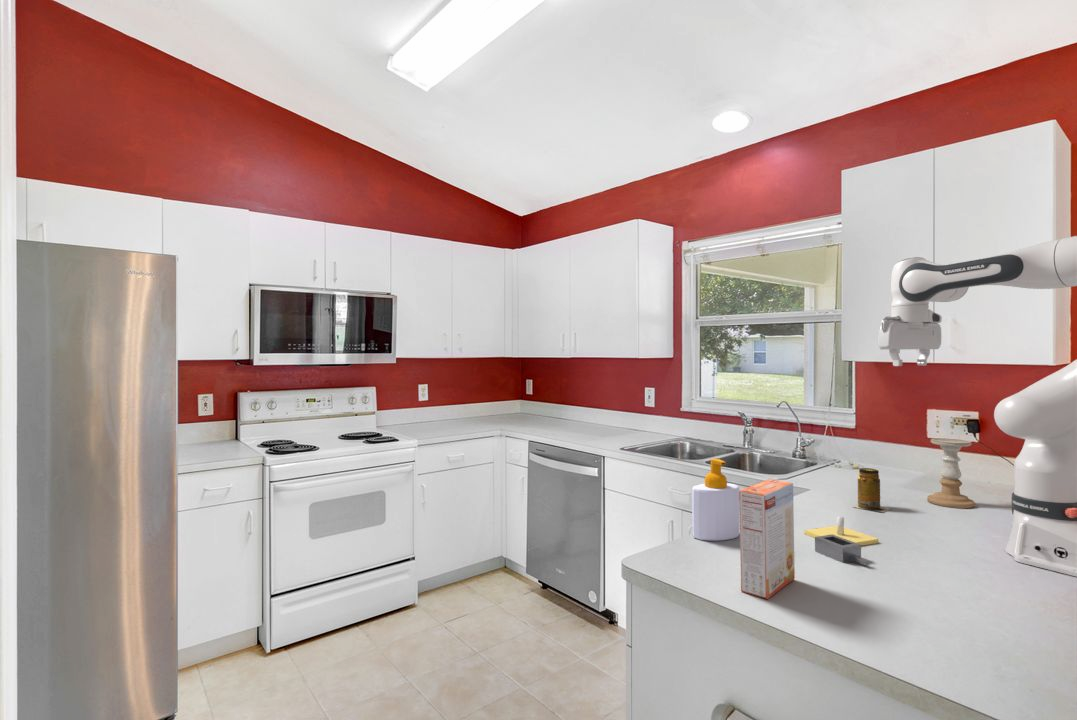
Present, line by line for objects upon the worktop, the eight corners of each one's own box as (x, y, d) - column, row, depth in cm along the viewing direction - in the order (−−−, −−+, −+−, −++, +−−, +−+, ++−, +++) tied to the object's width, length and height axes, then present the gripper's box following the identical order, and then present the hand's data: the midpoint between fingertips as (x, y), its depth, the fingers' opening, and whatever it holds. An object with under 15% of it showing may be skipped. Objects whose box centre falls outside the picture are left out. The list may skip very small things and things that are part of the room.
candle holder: (978, 510, 168) (978, 444, 168) (928, 505, 174) (928, 441, 174) (972, 501, 178) (972, 439, 178) (925, 496, 185) (925, 436, 185)
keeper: (878, 542, 140) (878, 521, 140) (842, 548, 136) (842, 526, 136) (838, 528, 151) (838, 508, 151) (804, 533, 147) (804, 513, 147)
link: (876, 565, 125) (876, 550, 125) (858, 569, 123) (858, 553, 123) (832, 548, 136) (832, 534, 136) (815, 551, 135) (814, 536, 134)
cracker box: (767, 572, 122) (767, 477, 122) (795, 580, 117) (795, 482, 117) (738, 591, 112) (737, 488, 112) (767, 600, 108) (767, 494, 108)
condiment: (861, 503, 177) (861, 466, 177) (891, 509, 171) (891, 470, 171) (852, 507, 173) (852, 469, 173) (882, 513, 166) (882, 473, 166)
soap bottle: (702, 543, 141) (702, 464, 141) (685, 533, 149) (685, 458, 148) (747, 538, 144) (746, 461, 144) (728, 529, 152) (728, 455, 152)
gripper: (892, 315, 149) (893, 366, 149) (946, 316, 156) (946, 365, 156) (871, 317, 155) (872, 366, 155) (924, 318, 162) (924, 365, 162)
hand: (909, 365), depth 155 cm, fingers open, 8 cm apart
